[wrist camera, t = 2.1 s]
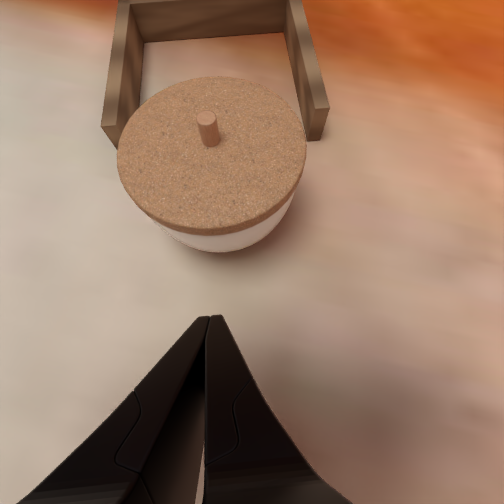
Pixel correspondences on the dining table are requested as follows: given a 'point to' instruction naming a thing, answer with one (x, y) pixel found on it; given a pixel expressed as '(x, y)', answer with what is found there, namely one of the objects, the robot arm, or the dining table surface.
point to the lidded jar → (213, 161)
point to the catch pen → (202, 26)
